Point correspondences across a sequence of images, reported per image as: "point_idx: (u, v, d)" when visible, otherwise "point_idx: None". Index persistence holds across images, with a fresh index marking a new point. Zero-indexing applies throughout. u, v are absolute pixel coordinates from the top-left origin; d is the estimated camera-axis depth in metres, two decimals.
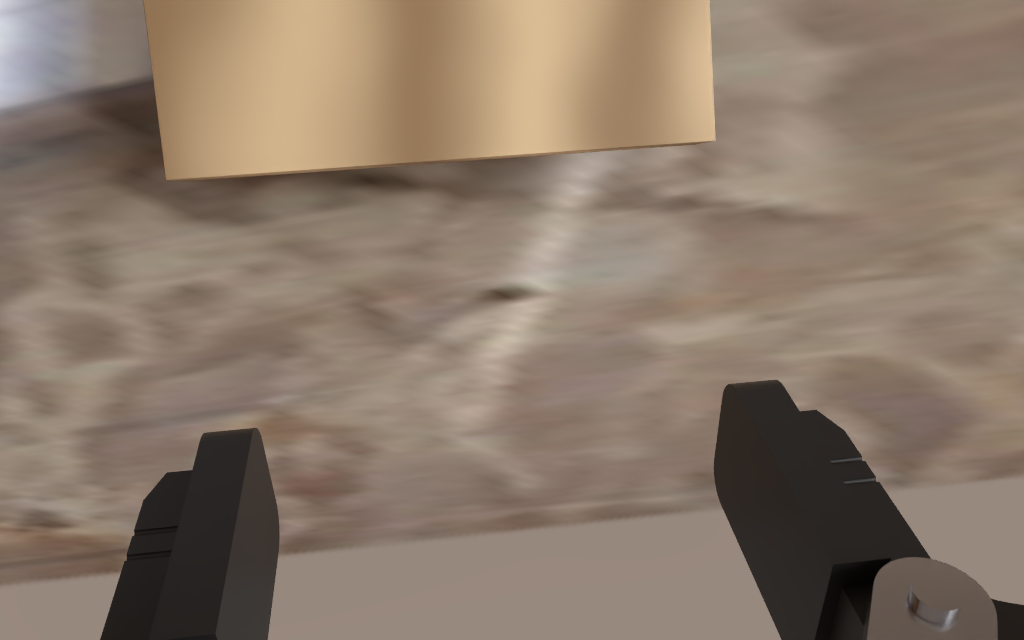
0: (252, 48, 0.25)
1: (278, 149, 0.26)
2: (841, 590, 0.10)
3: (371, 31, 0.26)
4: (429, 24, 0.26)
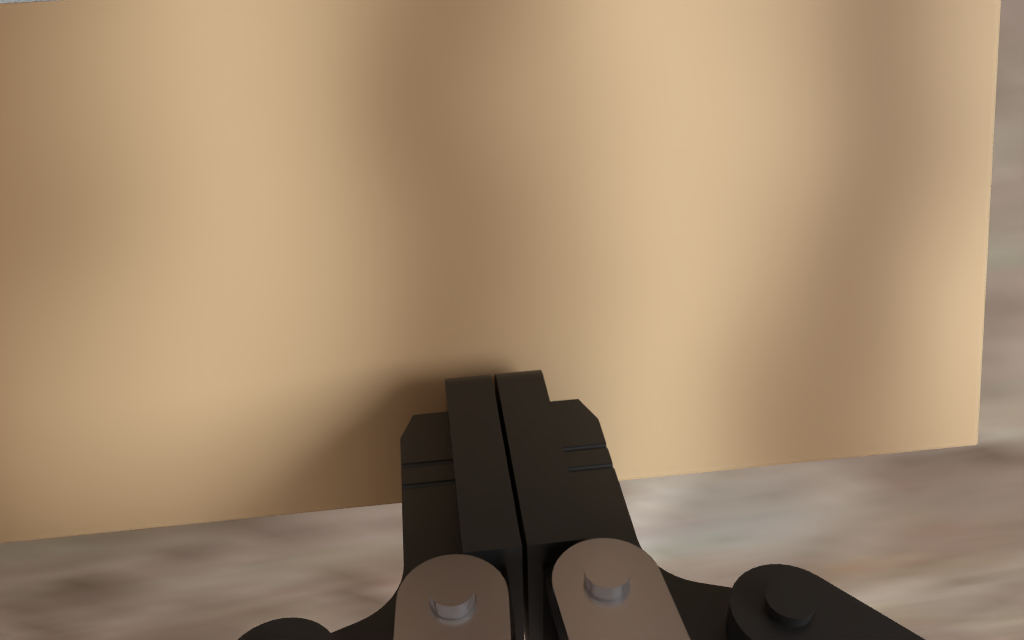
0: (135, 309, 0.13)
1: (192, 485, 0.14)
2: (541, 570, 0.11)
3: (362, 272, 0.13)
4: (472, 258, 0.14)
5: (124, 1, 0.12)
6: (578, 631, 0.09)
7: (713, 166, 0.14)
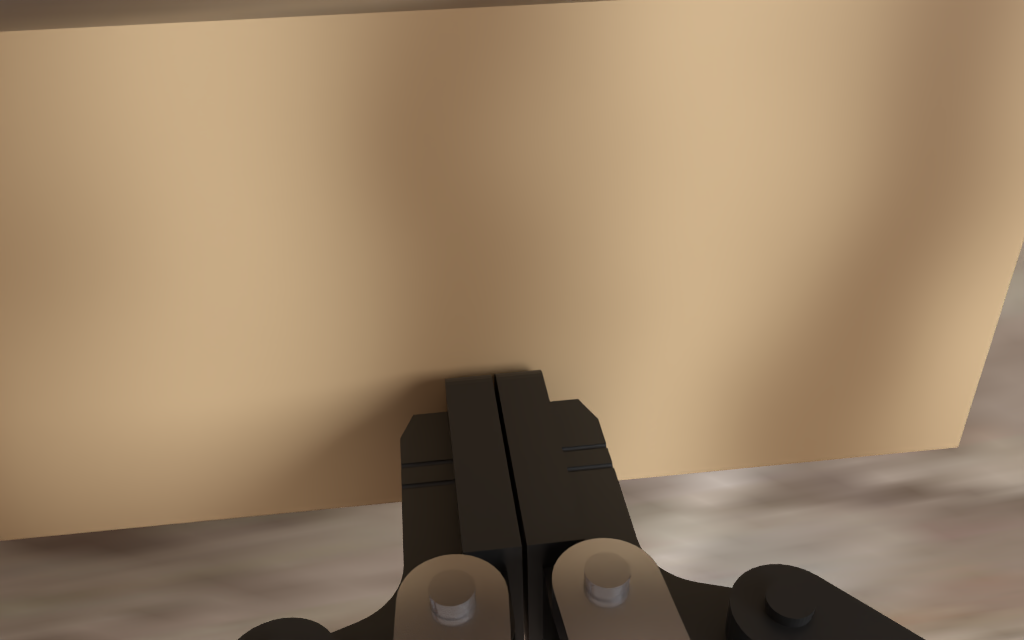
0: (122, 345, 0.13)
1: (195, 492, 0.14)
2: (541, 571, 0.11)
3: (361, 309, 0.13)
4: (476, 295, 0.13)
5: (72, 35, 0.10)
6: (577, 631, 0.09)
7: (740, 205, 0.13)
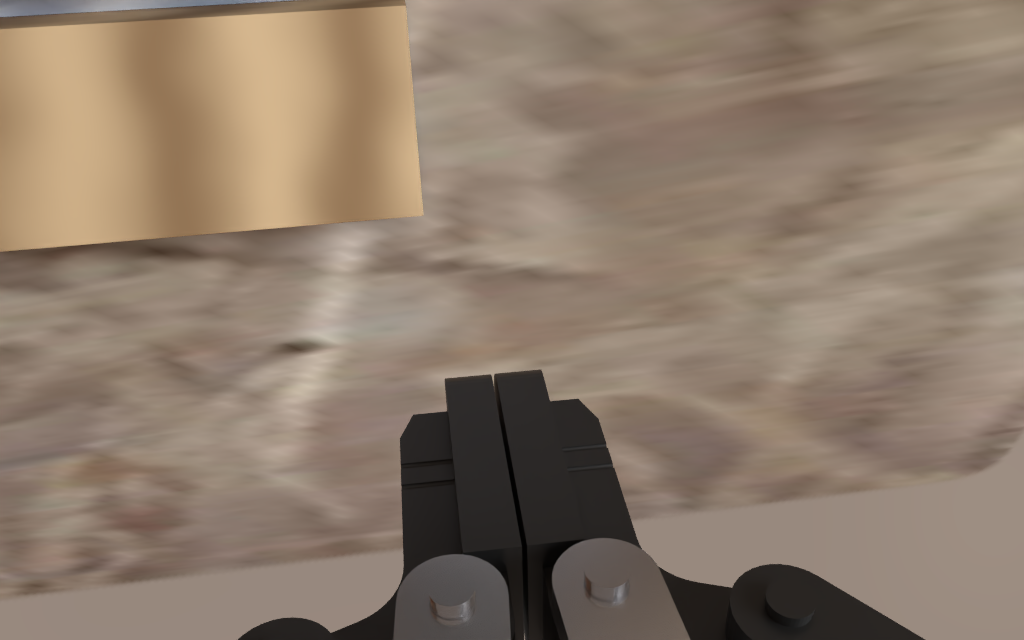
0: (37, 157, 0.31)
1: (72, 229, 0.33)
2: (541, 571, 0.11)
3: (135, 141, 0.32)
4: (182, 136, 0.32)
5: (14, 30, 0.29)
6: (578, 631, 0.09)
7: (286, 97, 0.32)
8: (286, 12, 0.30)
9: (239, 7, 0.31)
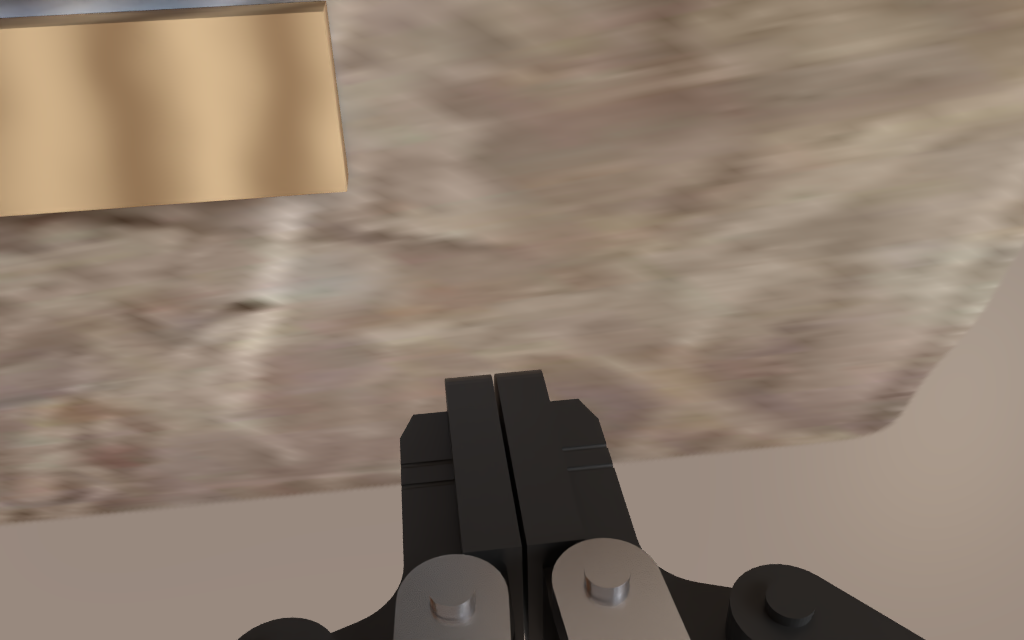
0: (14, 137, 0.37)
1: (45, 199, 0.39)
2: (541, 570, 0.11)
3: (96, 125, 0.37)
4: (137, 120, 0.38)
5: None
6: (578, 631, 0.09)
7: (224, 88, 0.37)
8: (221, 17, 0.36)
9: (184, 11, 0.37)
